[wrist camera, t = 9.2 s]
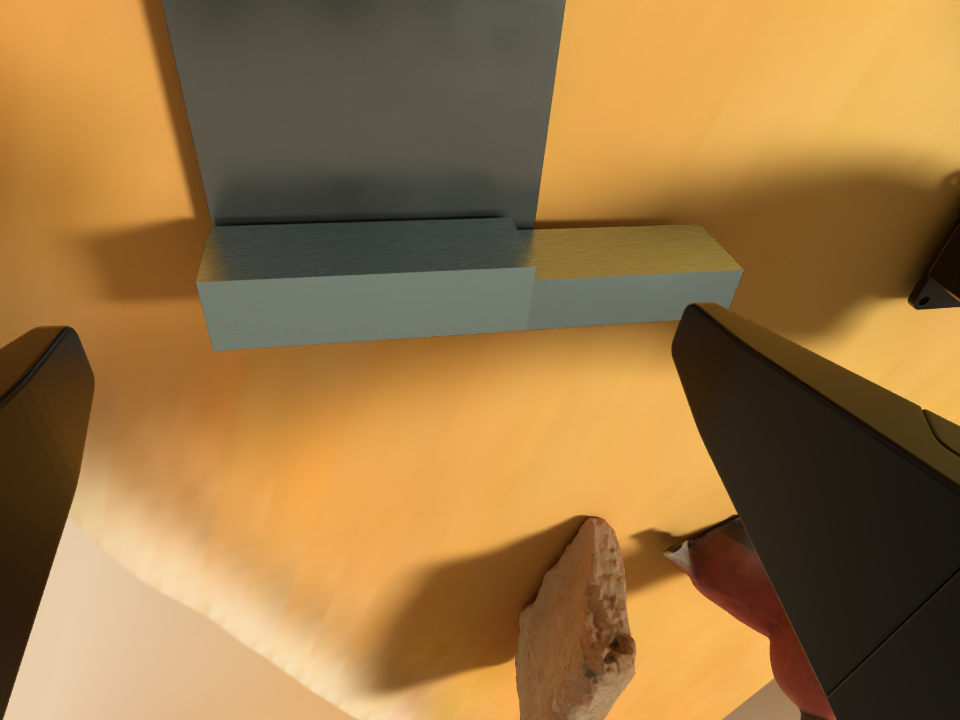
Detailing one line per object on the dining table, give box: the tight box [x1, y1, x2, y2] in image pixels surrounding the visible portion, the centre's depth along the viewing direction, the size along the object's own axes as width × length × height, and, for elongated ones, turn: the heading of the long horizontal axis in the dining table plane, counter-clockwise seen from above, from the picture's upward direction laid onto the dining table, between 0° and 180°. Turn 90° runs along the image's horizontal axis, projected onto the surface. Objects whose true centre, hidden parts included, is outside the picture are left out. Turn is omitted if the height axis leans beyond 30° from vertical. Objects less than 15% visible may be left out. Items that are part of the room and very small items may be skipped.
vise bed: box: [161, 0, 566, 230], centre depth 18 cm, size 11×16×1 cm
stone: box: [515, 517, 636, 720], centre depth 38 cm, size 19×10×4 cm
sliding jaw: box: [196, 218, 744, 351], centre depth 21 cm, size 18×2×3 cm, turn 86°
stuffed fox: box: [663, 517, 836, 720], centre depth 37 cm, size 8×11×12 cm
